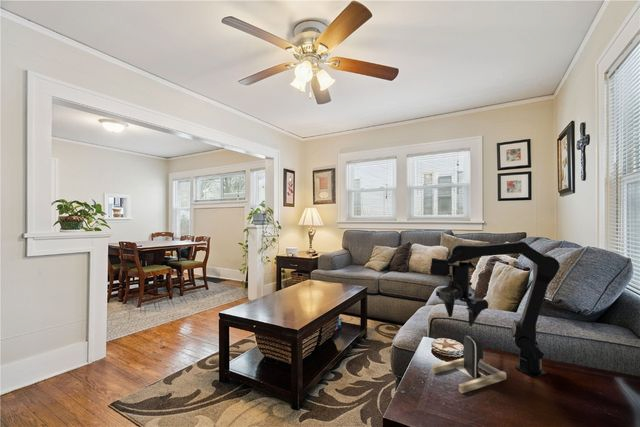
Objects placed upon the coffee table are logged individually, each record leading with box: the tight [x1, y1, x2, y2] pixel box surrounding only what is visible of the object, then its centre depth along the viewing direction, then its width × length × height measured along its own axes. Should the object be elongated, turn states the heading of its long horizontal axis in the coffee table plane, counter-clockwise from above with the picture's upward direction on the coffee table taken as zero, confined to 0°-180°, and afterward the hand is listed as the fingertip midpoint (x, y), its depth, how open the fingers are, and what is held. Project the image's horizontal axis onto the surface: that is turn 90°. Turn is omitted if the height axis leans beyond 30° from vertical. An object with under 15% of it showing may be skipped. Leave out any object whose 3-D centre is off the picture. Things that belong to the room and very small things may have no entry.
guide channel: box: [430, 357, 507, 394], centre depth 96 cm, size 19×12×2 cm, turn 112°
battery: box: [463, 335, 484, 379], centre depth 97 cm, size 7×4×11 cm, turn 177°
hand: (460, 321), depth 108 cm, fingers open, 9 cm apart
